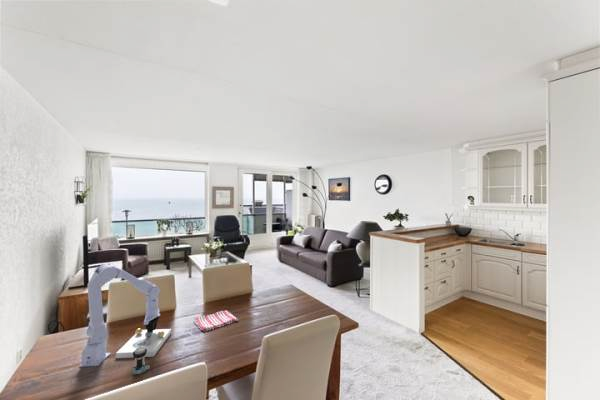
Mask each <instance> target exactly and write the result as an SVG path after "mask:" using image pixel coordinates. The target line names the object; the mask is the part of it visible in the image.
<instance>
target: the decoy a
mask: <svg viewBox="0 0 600 400" xmlns="http://www.w3.org/2000/svg"><path fill="white" fill-rule="evenodd" d="M142 330H143V328H140V327H139V328H137V329H136V330H135V332H134V333H135V334H137V335H139V334H141V333H142Z"/></svg>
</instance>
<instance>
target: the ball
mask: <svg viewBox="0 0 600 400" xmlns="http://www.w3.org/2000/svg"><path fill="white" fill-rule="evenodd" d="M151 336H152V332H151V331H148V332H146V334H145V337H146V338H149V337H151Z"/></svg>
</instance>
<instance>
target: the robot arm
mask: <svg viewBox="0 0 600 400" xmlns="http://www.w3.org/2000/svg"><path fill="white" fill-rule="evenodd" d="M114 279H116V280H118V279H123V280H125V281H127V282H129V283H130V284H132V285H133V288H134V289H136V290H138V291H140V292H141V293H143V294H145V296H146V299H145V317H144V320H143V326H144V327H145V330H147V332H148V331H151V332H152V333H153V330H155V329H157V325H158V322H159V319H160V317H161V313H160V308H159V294H160V293H161V289H160V287H159V286H158V285H156V284H155V283H154V282H153V281H152V282H150V281H149V280H147V278H146V277H136V276H134V275H133V274H131V273H129V272H127V271H126V270H124V269H122V268H119V267H116V266H114V265H111V264H110V263H103V264H101V265H99V266H98V267H96V268H95V269H94V271H93V274H92V276H91V278H90V279H89V281H88V283H87V297H88V299H87V300H88V310H89V311H88V312H89V322H88V328H87V329H86V335H87V336H88V337H89V338H88V340H87V342H86V345H85V347H84V349H82V351H81V359H80V360H81V362H80V364H79V365H78V367H97V366H99V365H100V364H101V363H103V361H105V360H106V359H107V358H108V357H109V356H110V355H111V352H107V339H108V338H107V337H108V336H109V330H108V329H107V328H106V323H105V321H104V308H103V294H102V287H104V285H105V284H107V283H108V282H111V281H112V280H114Z"/></svg>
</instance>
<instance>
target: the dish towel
mask: <svg viewBox="0 0 600 400" xmlns="http://www.w3.org/2000/svg"><path fill="white" fill-rule="evenodd" d="M235 321H237V322H238V321H239V318H237V317H236V316H235V315H233V314H232V313H231V312H230V311H229V310H221V311H220V310H219V311H217V312H214V313H212V314H207V315H201V316H194V318H193V322H194V323H195V326H196V327H197V328H198V329H200V330H202V331H203V332H207V331H208V330H209V331H211V329H212V330H215V329H218V328H217V327H219V328H221V326H222V327H224V325H225V326H227V325H226V324H228V325H231V324H233V323H232V322H234V323H236V322H235ZM230 323H231V324H230ZM214 328H215V329H214ZM209 331H208V332H209Z"/></svg>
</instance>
